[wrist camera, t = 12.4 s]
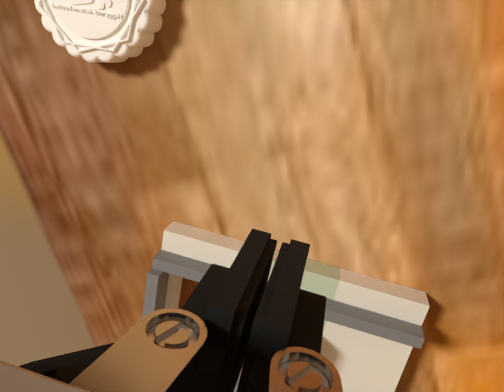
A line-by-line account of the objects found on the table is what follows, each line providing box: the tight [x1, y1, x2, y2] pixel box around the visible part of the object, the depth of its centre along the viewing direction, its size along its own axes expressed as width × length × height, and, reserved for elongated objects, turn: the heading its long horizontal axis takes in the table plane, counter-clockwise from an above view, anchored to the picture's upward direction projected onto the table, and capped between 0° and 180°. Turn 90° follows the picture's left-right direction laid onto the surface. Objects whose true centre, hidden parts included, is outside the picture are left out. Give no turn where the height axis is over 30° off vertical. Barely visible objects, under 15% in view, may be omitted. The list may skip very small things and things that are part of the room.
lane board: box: [142, 221, 430, 392], centre depth 44 cm, size 27×18×6 cm, turn 79°
